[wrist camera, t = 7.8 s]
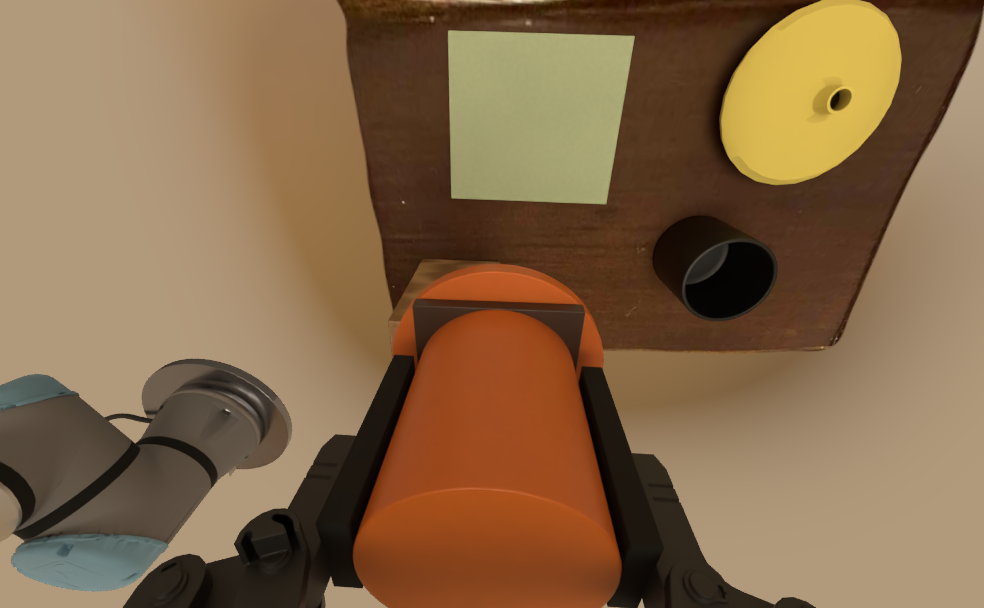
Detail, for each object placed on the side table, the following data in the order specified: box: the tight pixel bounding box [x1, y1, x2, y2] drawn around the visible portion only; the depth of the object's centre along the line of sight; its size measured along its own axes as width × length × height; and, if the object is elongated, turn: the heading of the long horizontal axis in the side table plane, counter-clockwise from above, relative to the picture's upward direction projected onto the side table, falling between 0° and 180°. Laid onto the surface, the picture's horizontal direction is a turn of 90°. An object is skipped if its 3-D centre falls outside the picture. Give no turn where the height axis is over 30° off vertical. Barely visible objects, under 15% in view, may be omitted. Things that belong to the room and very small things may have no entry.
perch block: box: [388, 259, 500, 359], centre depth 43 cm, size 10×10×16 cm
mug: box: [653, 216, 778, 321], centre depth 43 cm, size 9×12×9 cm
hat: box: [353, 264, 622, 608], centre depth 13 cm, size 9×9×9 cm
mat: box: [448, 30, 635, 204], centre depth 40 cm, size 18×16×1 cm
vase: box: [719, 0, 902, 185], centre depth 36 cm, size 16×16×7 cm
